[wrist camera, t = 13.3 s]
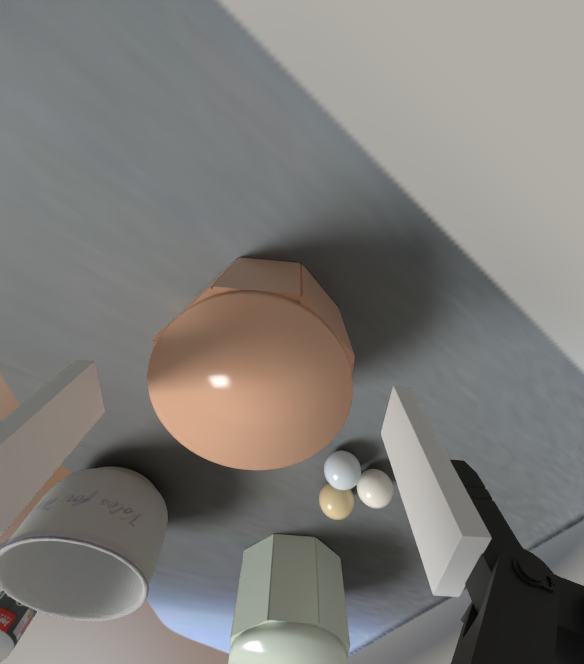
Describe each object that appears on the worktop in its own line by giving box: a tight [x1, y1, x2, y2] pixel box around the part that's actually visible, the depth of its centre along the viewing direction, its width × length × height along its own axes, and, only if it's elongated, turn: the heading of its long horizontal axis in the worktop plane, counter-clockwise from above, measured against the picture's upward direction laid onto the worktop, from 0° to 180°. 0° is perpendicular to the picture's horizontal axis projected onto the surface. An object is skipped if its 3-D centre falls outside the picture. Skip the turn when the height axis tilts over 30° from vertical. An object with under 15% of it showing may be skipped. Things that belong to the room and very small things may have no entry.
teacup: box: [0, 467, 168, 621], centre depth 26 cm, size 14×11×8 cm
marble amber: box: [319, 482, 354, 520], centre depth 28 cm, size 3×3×3 cm
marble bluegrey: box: [324, 451, 361, 490], centre depth 26 cm, size 3×3×3 cm
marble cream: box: [357, 469, 393, 508], centre depth 27 cm, size 3×3×3 cm
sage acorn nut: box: [228, 534, 350, 664], centre depth 30 cm, size 10×10×8 cm
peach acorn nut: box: [147, 257, 355, 470], centre depth 19 cm, size 10×10×8 cm
